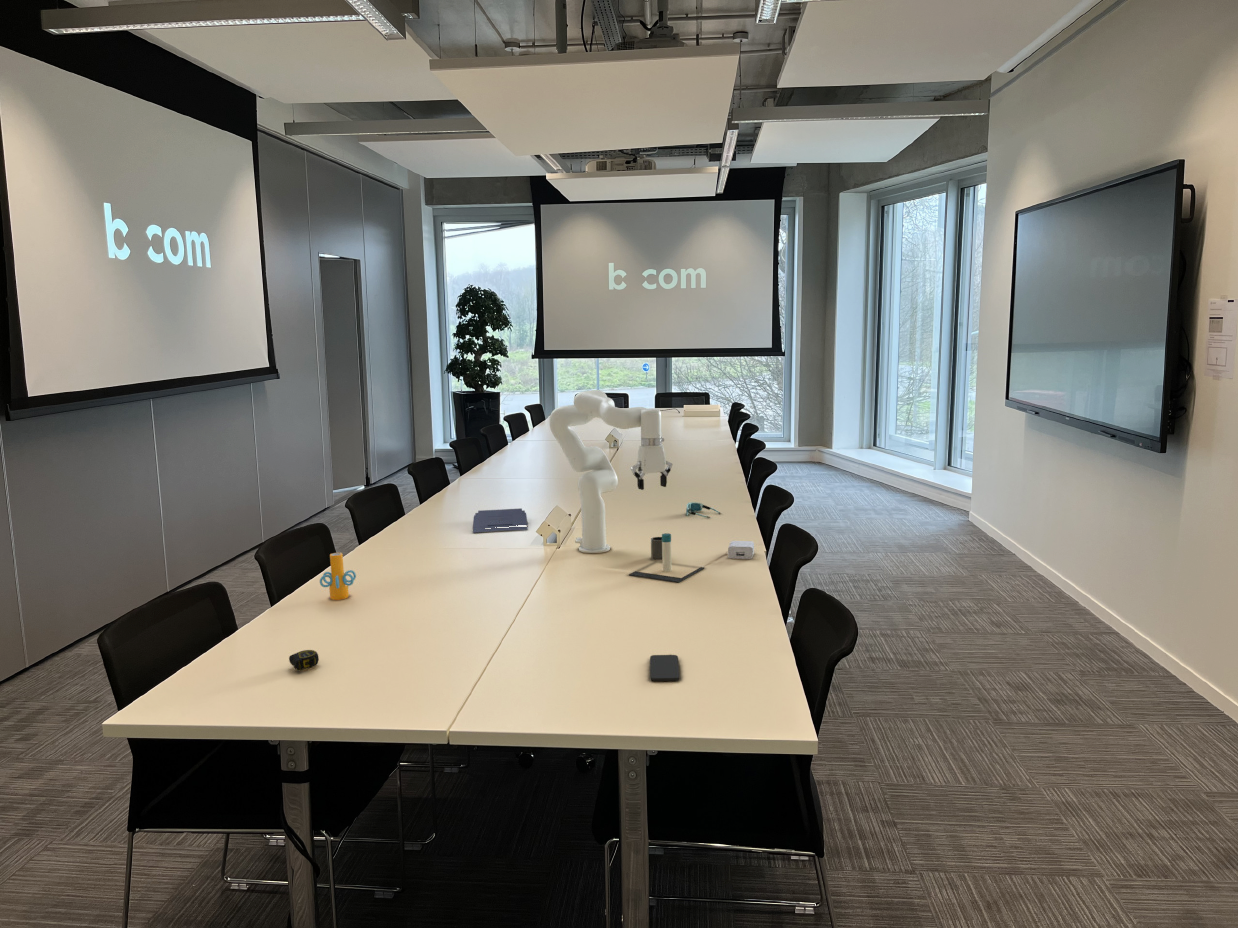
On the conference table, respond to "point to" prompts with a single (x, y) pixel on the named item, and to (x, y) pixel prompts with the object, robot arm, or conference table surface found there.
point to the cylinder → (338, 578)
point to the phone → (664, 668)
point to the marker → (666, 552)
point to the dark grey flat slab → (499, 520)
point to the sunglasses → (697, 508)
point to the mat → (664, 578)
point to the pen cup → (656, 548)
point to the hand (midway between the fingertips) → (652, 487)
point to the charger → (741, 549)
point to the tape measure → (304, 659)
